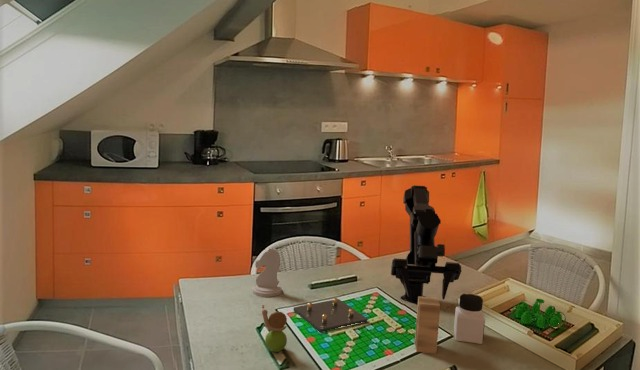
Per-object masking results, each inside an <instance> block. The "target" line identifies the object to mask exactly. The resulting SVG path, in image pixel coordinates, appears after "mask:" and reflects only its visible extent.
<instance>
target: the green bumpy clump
mask: <svg viewBox="0 0 640 370" xmlns="http://www.w3.org/2000/svg"><path fill="white" fill-rule="evenodd" d="M544 303H545V300H544V299H542V298H536V299H535V302H534V303H533V304H532V307H531V309H530V306H529V304H528V303H527V302H525V301H519V302H518V304H517V305H515V306H513V308H512V309H511V315H512V317H514V316H515V317H516V319H520V318H521V319H520V323H521V324H522V325H523V324H524V325H530V324H531V322H532V320H533V319H532V318H537V320H536V327H537V326H538V327H541V328H543V327H544V328H545V326H546V322H547V325H548V324H550V326H553V327H558V328H560V329H561V328H562V325H561V323H564V324H565V323H566V321H567V317H566V315H565V313H563V312H562V311H560V310H559V311H557V310H556V308H555V306H553V305H548V306H547V308H545V311H544V313H540V311H541V305H542V304H544ZM515 308H516V309H515ZM514 310H515V312H513V311H514ZM514 313H515V315H514ZM562 315H563V316H564V320H563V316H562ZM515 317H514V318H515ZM547 318H548V319H547ZM546 320H547V321H546ZM562 321H563V322H562ZM558 323H559V324H560V325H559V324H558Z"/></svg>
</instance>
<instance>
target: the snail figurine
mask: <svg viewBox="0 0 640 370" xmlns="http://www.w3.org/2000/svg"><path fill="white" fill-rule="evenodd" d="M261 306H262V310H261V313H262V318H263V322H264V325H265V327H266V328H267V330H270V331H268V333H267V334H266V336H265V340H264V343H265V347H266V348H267V349H268V350H269V351H271V352H274V353H278V352H281V351H282V350H283V349H285V347H286V346H287V343H288V342H287V341H288V339H287V335H286V333H285V332H284V330H286V329H287V326H286V324H287V322H288V321H287V320H288V318H287V316H286V314H285V313H284V312H281V311H279V310H278V311H273V312H272V313H271V314H270V315H269V317H268V310H267V309H265V305H264V304H262V305H261Z"/></svg>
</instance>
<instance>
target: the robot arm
mask: <svg viewBox="0 0 640 370" xmlns="http://www.w3.org/2000/svg"><path fill="white" fill-rule="evenodd" d="M410 187H411V188H408V189H406V190H404V193H403V199H402V200H403V202H402V203H403V204H404V210H405V212H406V213H407V214H408V216H409V253H408V254H407V256H406V258H395V257H394V258H393V259H392V261H391V266H390V276H393V277H394V276H395V279H399V281H400V283H401V285H402V286H403V288H404V290H405V292H404V294H403V295H401V296H400V299H402V300H404V301H408V302H411V303H414V304H417V305H418V296H420V297H427V296H426V295H424V285H429V284H430V283H431V276H432V274H441V275H442V274H443V275H442V277H443V278H442V290H441V291H442V292H441V297H442V300H443V301H444V300H445V299H446V296H447V293H448V288H449V285H450V283H454V282H455V281H458V280H459V278H460V276H461V273H462V265H461V264H460V263H459V262H450V261H446V262H445V263H444V266H442V265H441V266H440V265H437V264H438V258H439V257H442V258H443V257H445V255H446V247H445V244H443V243H442V244H441V243H439V244H437V245H436V244H435V237H436V235H437V232H438V231H439V228H440V227H439V226H440V225H441V220H442V219H441V218H440V217H439V216H438V213H436V210H435V208H434V207H433V206H432V205H430V204H429V203H430V191H429V190H428V187H427V186H425V185H415V184H414V185H411V186H410Z"/></svg>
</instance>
